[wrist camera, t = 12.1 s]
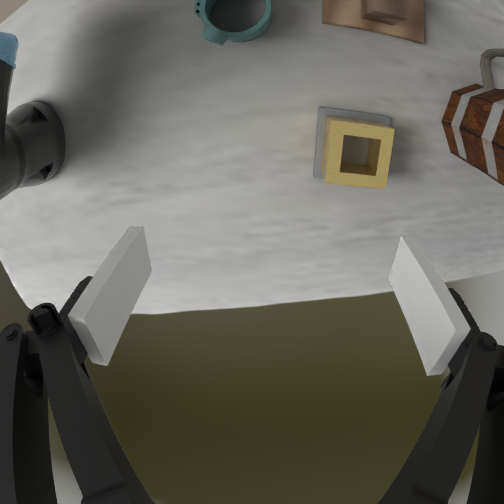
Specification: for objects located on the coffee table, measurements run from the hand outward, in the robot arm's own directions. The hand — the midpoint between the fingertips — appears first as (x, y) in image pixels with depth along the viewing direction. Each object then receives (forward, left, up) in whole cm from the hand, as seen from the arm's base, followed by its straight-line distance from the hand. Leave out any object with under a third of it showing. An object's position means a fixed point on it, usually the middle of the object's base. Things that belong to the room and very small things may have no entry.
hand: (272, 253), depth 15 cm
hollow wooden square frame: (+10, 0, -29) cm, 30 cm away
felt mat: (+10, 0, -29) cm, 31 cm away
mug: (+30, +10, -29) cm, 43 cm away
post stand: (+12, +23, -29) cm, 39 cm away
